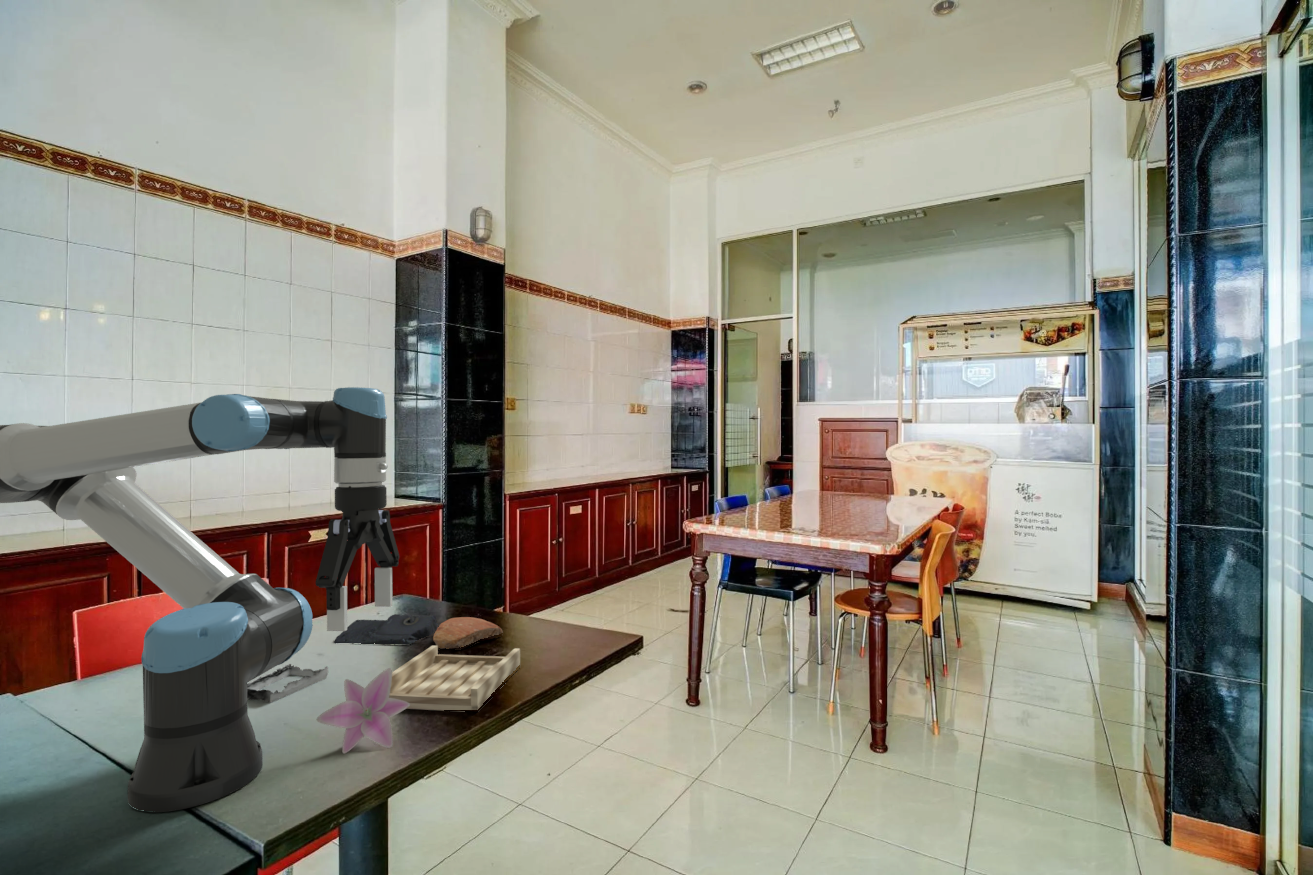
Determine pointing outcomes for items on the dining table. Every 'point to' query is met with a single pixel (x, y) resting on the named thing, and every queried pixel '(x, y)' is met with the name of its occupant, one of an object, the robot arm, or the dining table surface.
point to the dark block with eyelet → (389, 630)
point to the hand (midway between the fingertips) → (362, 617)
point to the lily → (365, 712)
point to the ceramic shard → (463, 632)
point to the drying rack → (451, 679)
